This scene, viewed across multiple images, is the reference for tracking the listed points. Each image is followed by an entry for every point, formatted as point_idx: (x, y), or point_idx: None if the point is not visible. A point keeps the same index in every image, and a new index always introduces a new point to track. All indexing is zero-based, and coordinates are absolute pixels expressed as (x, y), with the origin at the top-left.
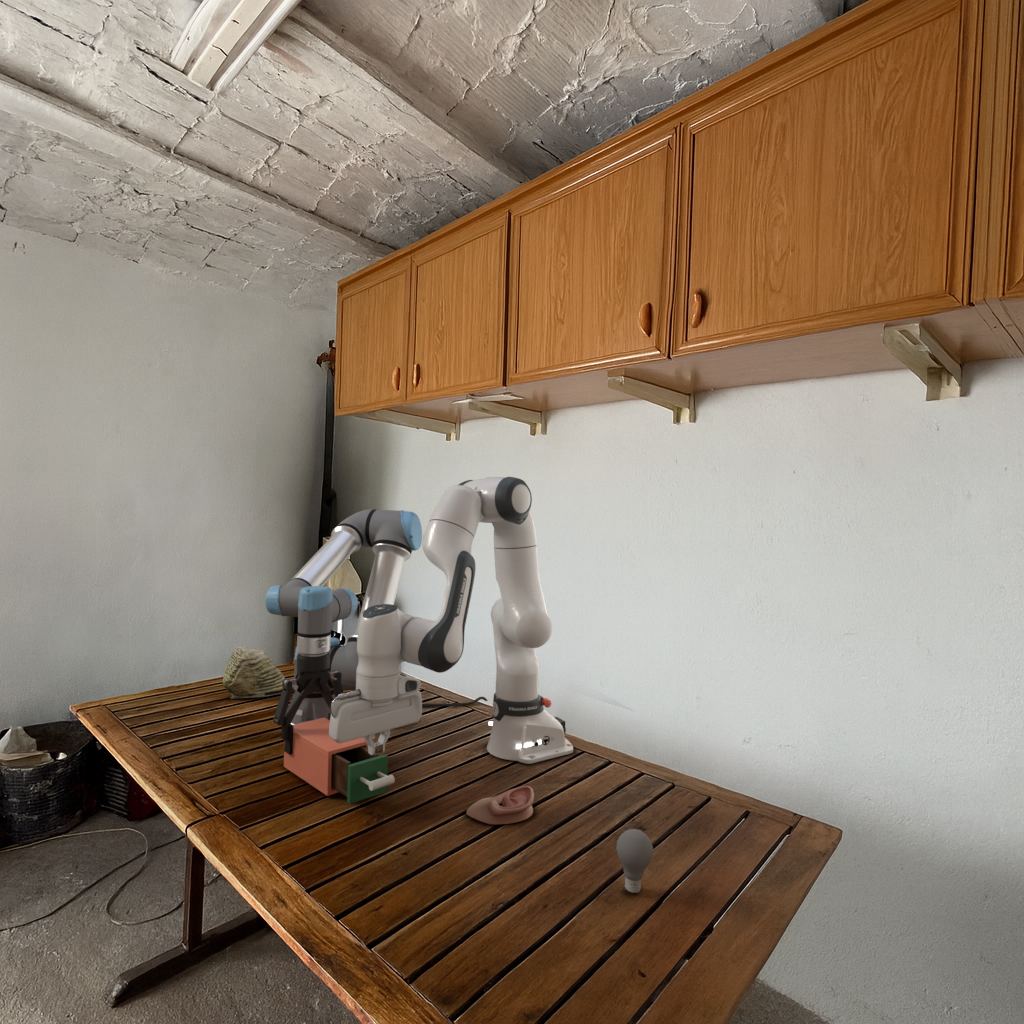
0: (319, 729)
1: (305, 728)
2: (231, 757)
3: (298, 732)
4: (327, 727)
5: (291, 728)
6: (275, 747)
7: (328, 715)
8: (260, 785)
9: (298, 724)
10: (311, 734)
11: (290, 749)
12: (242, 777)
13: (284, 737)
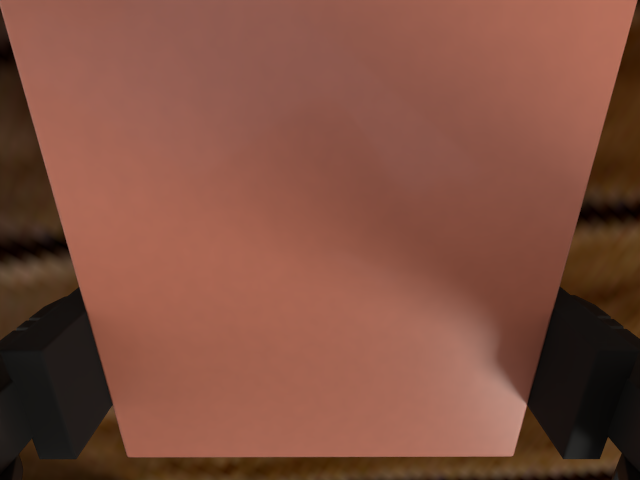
0: (314, 195)
1: (414, 315)
2: (521, 466)
3: (540, 254)
4: (206, 199)
5: (602, 333)
6: (347, 459)
7: (85, 433)
8: (618, 159)
9: (398, 437)
10: (488, 87)
11: None
12: (612, 287)
13: (595, 307)
